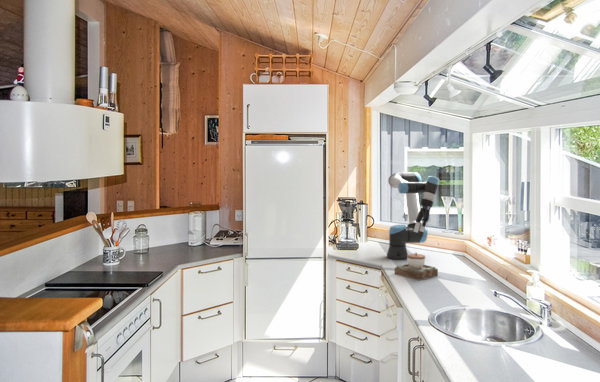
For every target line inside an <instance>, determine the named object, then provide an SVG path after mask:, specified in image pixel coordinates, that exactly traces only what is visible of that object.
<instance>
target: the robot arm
mask: <svg viewBox="0 0 600 382" xmlns="http://www.w3.org/2000/svg"><path fill="white" fill-rule="evenodd" d="M439 183H440V179H439V178H438V177H436V176H434V175H429V176H427V179H426V181H422V177H421V174H420V173H418V172H416V171H415V172H414V171H408V172H407V171H405V172H402V171H401V172H400V171H398V172H395V173H392V174H391V175H390V176H389V177H388V185H389V186H390V187H391V188H395V189H398V193H399V194H405V196H406V207H407V215H408V223H407V224H406V225H405V224H396V225H392V226H390V227H389V230H388V231H389V232H388V233H389V239H388V240H389V242H388V243H389V247H388V249H387V250H388V251H387V252H386V258H388V259H391V260H407V255H408V254H409V253H408V250H407V244H423V243H425V242H426V241H427V238H428V228H427V223H428V221H429V220H430V211H431V208H432V207H433V205H434V201H435V199H436V193H437V190H438V188H439V185H440V184H439ZM419 194H421V195H422V196H421V200H419ZM420 205H421V206H422V207H420Z"/></svg>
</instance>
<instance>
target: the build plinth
mask: <svg viewBox="0 0 600 382" xmlns="http://www.w3.org/2000/svg"><path fill="white" fill-rule="evenodd" d="M394 275H397V276H401V277H405V278H409V279H413V280H417V281H420V280H425V279H428V278H433V277H437V276H438V275H439V269H438V268H436V266H432V265H427V264H424V266H423V267H422V268H421V269H412V268H411V267H410V266H409V265H408V263H405V264H404V263H403V264H400V265H397V266H395V267H394Z"/></svg>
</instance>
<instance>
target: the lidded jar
mask: <svg viewBox="0 0 600 382" xmlns="http://www.w3.org/2000/svg"><path fill="white" fill-rule="evenodd" d="M406 260H407V264H408V265H409V266H410V267H411V268H412V269H421V268H422V267H423V266H424V265H426V264H425V263H426V255H425V254H421V253H418V252H415V253H408V255H407V259H406Z"/></svg>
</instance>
